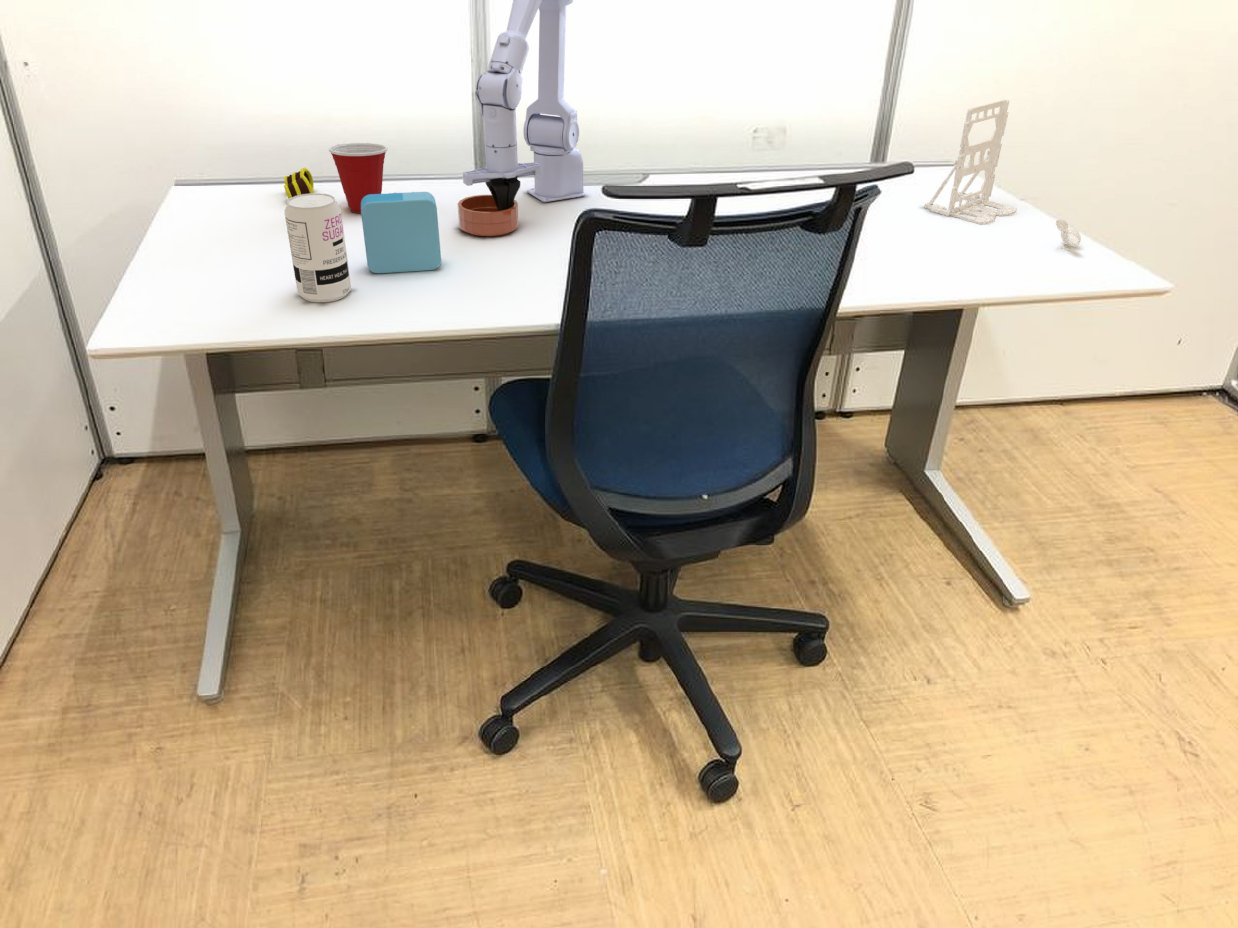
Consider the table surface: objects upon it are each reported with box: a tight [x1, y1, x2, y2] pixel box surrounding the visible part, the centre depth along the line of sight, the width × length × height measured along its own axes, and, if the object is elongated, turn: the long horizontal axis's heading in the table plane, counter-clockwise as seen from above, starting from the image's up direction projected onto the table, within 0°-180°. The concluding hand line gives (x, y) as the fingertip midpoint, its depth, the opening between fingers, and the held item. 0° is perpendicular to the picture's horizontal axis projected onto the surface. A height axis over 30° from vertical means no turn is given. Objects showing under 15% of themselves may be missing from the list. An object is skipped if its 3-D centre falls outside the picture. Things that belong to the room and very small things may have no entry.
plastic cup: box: [328, 142, 389, 214], centre depth 192 cm, size 11×11×12 cm
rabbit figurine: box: [1055, 218, 1082, 251], centre depth 181 cm, size 6×4×8 cm
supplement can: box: [284, 192, 352, 303], centre depth 155 cm, size 8×8×15 cm
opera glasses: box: [283, 167, 315, 200], centre depth 200 cm, size 10×5×5 cm, turn 15°
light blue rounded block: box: [360, 191, 442, 274], centre depth 166 cm, size 12×4×12 cm, turn 102°
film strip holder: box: [923, 99, 1018, 225], centre depth 194 cm, size 14×14×20 cm
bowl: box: [457, 194, 519, 237], centre depth 185 cm, size 11×11×5 cm
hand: (504, 218), depth 187 cm, fingers closed
